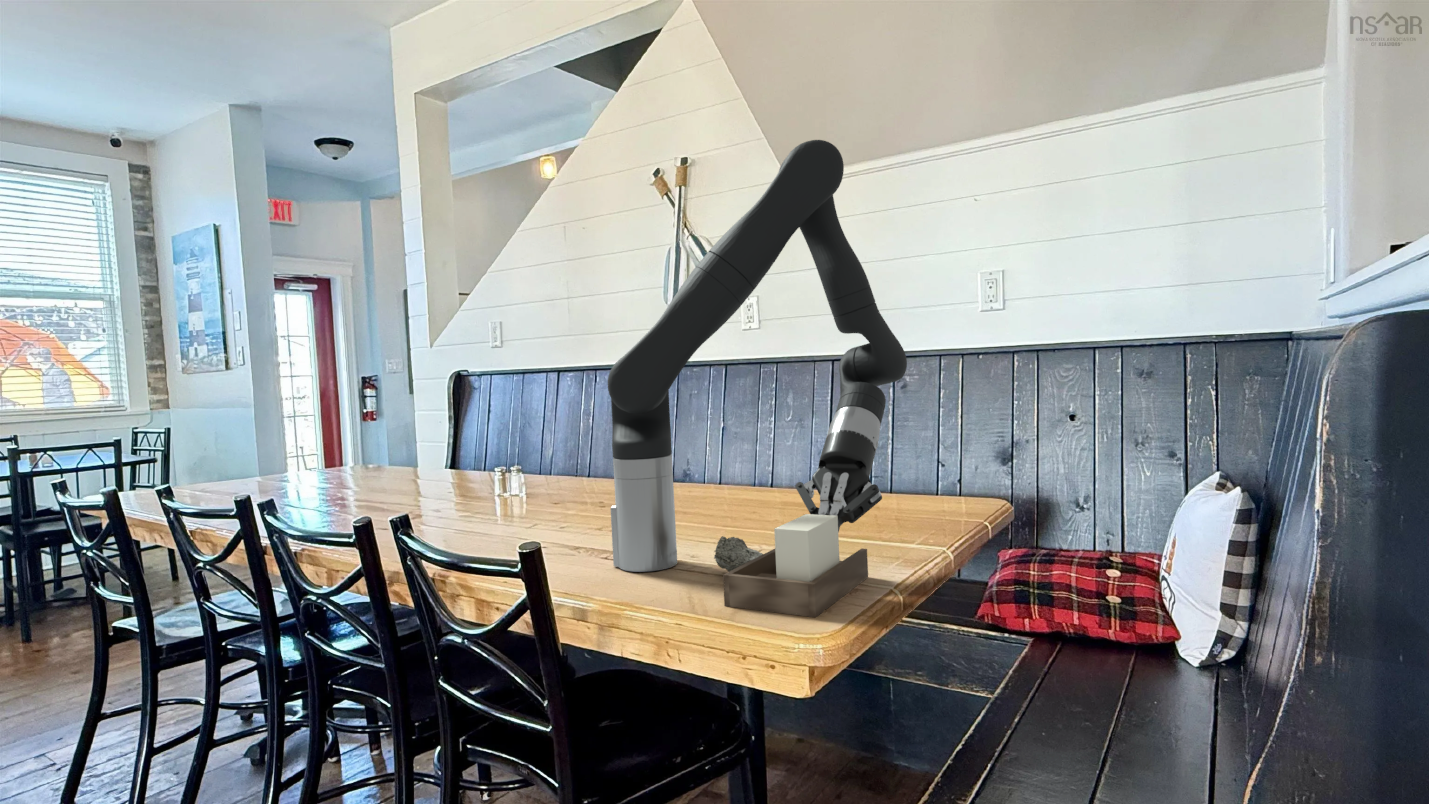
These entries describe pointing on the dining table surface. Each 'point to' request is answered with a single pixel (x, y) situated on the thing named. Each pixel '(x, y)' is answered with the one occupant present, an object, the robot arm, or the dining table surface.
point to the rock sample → (733, 553)
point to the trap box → (791, 586)
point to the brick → (806, 547)
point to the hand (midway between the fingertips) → (823, 544)
